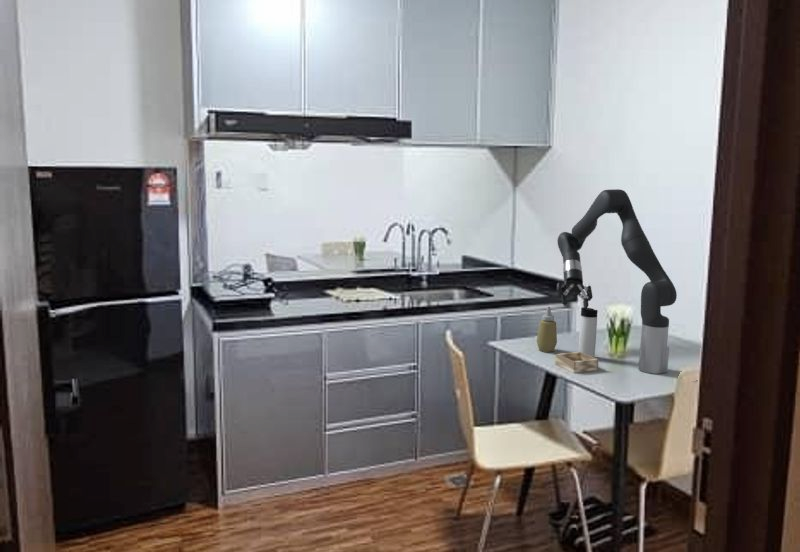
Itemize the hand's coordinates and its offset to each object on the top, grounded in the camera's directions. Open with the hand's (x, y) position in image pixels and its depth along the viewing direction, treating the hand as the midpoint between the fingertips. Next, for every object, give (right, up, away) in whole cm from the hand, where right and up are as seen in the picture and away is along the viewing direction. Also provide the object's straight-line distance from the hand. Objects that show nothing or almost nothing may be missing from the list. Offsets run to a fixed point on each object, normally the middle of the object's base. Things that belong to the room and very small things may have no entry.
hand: (575, 306), depth 277 cm
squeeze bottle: (-11, -18, +2) cm, 21 cm away
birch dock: (-5, -22, -21) cm, 30 cm away
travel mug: (+2, -20, -7) cm, 21 cm away
